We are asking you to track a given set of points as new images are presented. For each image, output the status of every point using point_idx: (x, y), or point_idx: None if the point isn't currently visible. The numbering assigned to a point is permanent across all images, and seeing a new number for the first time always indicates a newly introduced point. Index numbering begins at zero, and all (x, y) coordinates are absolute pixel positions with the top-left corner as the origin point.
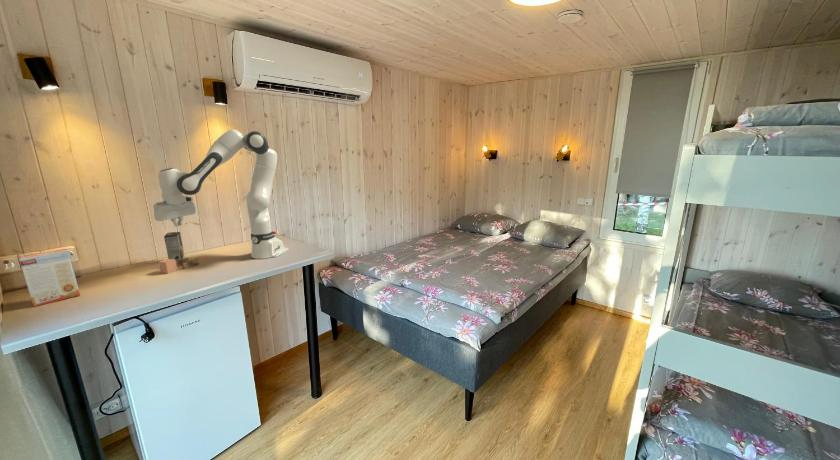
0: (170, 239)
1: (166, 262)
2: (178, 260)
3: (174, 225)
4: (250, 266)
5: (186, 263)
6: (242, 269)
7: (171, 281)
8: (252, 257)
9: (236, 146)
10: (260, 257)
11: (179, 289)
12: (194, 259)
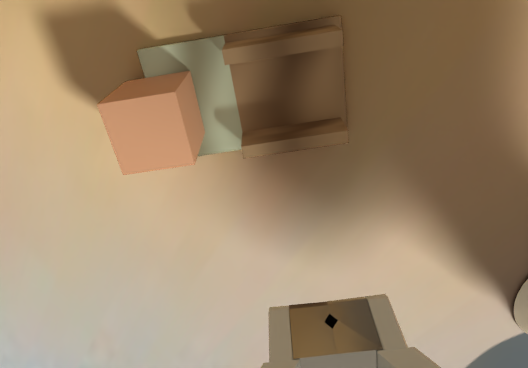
0: None
1: (127, 173)
2: (269, 44)
3: (270, 316)
4: None
5: (261, 153)
6: None
7: (116, 247)
8: (525, 285)
9: None
10: (521, 325)
11: (102, 345)
12: (333, 133)
